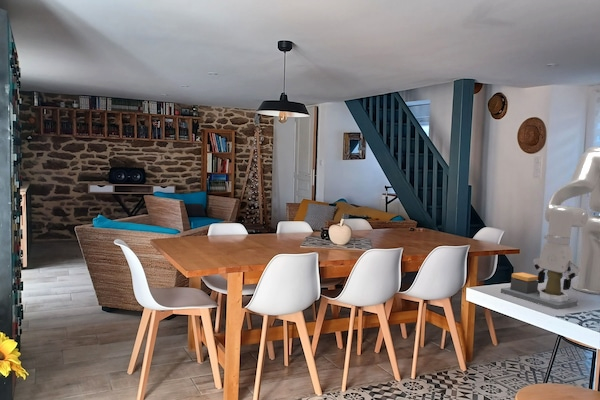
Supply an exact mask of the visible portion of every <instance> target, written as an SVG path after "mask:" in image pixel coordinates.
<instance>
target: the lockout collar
mask: <svg viewBox="0 0 600 400" xmlns="http://www.w3.org/2000/svg"><path fill="white" fill-rule="evenodd" d="M545 288H546V287H545ZM545 288H538V289H537V297H538V298H539V299H543V300H546V301H549V302H558V303H564V302H568V299H569V294H568V293H567V292H565V291H563V290H561V295H553V294H548V293H544V292H545Z"/></svg>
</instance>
